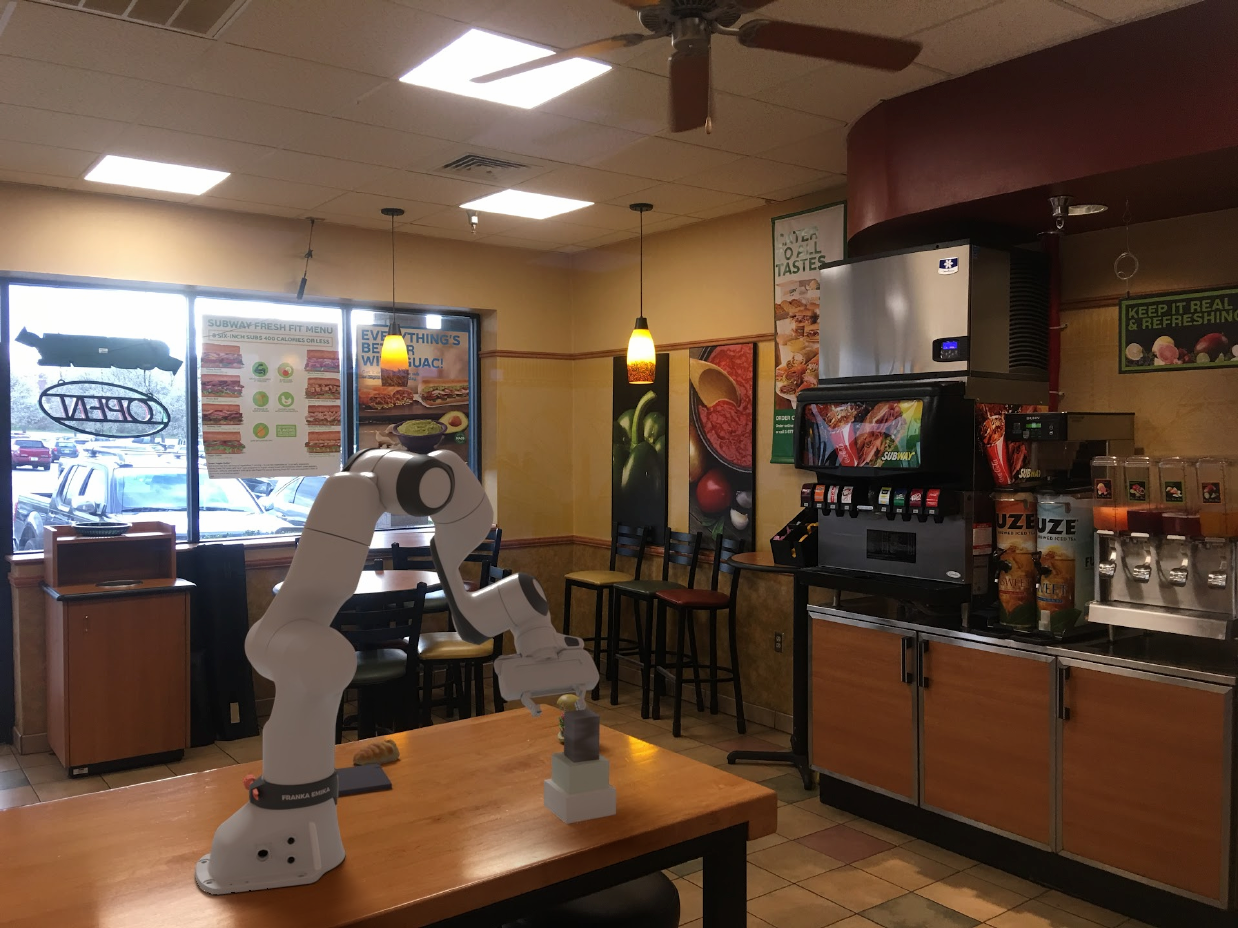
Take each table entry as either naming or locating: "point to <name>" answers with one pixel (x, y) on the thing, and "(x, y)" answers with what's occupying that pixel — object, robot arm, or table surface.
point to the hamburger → (566, 703)
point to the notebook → (362, 779)
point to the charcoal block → (581, 735)
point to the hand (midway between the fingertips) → (559, 711)
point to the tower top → (579, 774)
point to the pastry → (377, 753)
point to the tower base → (579, 803)
